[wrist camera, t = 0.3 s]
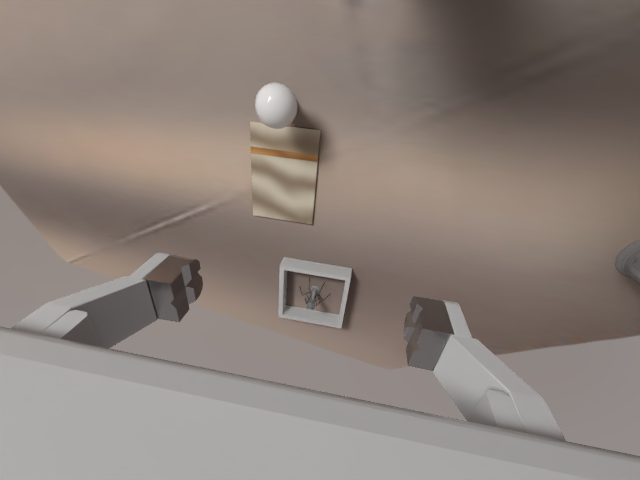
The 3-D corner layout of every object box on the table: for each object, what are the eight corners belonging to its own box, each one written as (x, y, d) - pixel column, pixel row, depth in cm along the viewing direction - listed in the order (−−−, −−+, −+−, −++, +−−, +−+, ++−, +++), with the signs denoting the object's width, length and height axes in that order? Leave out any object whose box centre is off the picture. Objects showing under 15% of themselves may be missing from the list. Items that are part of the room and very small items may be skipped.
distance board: (251, 121, 53) (249, 121, 52) (320, 130, 52) (320, 130, 51) (253, 214, 63) (252, 215, 62) (312, 223, 61) (311, 224, 61)
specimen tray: (283, 257, 67) (279, 265, 64) (351, 268, 66) (350, 277, 63) (282, 307, 75) (278, 316, 72) (342, 318, 74) (341, 328, 71)
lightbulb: (274, 122, 52) (253, 133, 43) (268, 83, 49) (244, 85, 40) (308, 119, 51) (294, 130, 42) (304, 79, 48) (288, 80, 39)
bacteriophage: (301, 274, 69) (295, 292, 63) (333, 282, 69) (330, 301, 63) (297, 295, 73) (291, 314, 67) (328, 303, 73) (324, 323, 67)
